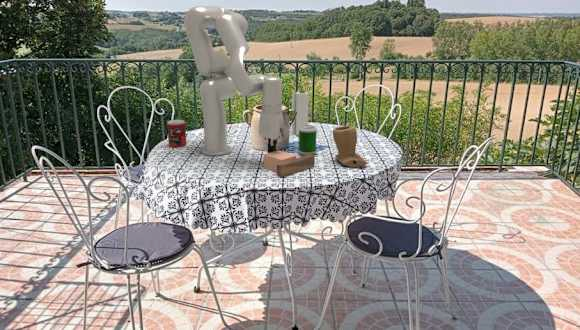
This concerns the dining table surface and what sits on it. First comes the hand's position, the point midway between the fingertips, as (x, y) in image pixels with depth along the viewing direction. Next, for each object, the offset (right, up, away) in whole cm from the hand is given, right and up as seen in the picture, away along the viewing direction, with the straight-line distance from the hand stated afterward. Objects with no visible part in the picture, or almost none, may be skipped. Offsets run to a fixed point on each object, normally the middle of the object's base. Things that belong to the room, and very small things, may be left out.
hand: (271, 154), depth 178 cm
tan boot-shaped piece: (+31, -4, +2) cm, 31 cm away
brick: (+3, -6, -5) cm, 8 cm away
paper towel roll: (+13, +11, +45) cm, 48 cm away
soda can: (+15, 0, +14) cm, 21 cm away
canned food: (-44, +5, +26) cm, 51 cm away
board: (+10, -7, -7) cm, 14 cm away
